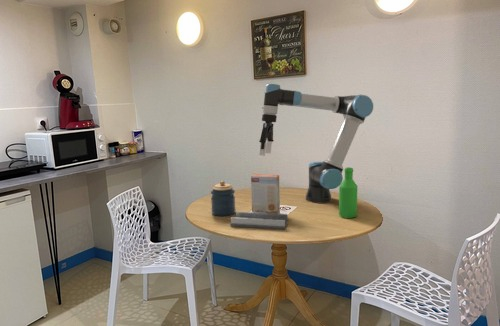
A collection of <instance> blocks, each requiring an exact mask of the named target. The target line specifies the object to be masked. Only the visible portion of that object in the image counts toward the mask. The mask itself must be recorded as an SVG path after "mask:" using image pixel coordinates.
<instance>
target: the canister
mask: <svg viewBox="0 0 500 326" xmlns="http://www.w3.org/2000/svg"><path fill="white" fill-rule="evenodd" d="M211 189H212V190H211V191H210V194H211V197H210V199H211V201H210V202H211V214H212V215H213V216H217V217H227V216H231V215H234V214H236V196H235V192H236V190H235V189H234V186H233V185H232V184H231V183H225V181H224V180H221V181H220V182H219V183H217V184H215V185H214V186H212V187H211Z"/></svg>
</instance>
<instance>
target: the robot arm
mask: <svg viewBox="0 0 500 326" xmlns="http://www.w3.org/2000/svg"><path fill="white" fill-rule="evenodd" d="M264 90H265V91H264V97H263V98H264V99H263V100H264V101H263V106H262V113H263V114H261V115H262V118H261V121H262V122H263V124H262V130H261V135H260V139H259V140H258V142H259V143H260V147H259V154H258V155H259V156H262V157H265V156H266V154H271V153H272V144H273V142H274V124H275V123H277V114H278V109H279V108H278V107H279V106H289V107H296V108H297V107H298V108H307V109H313V110H314V109H316V110H322V111H323V110H324V111H331V112H332V113H334V114H339V115H342V116H343V122H342V124H341V125H340V128H339V132H338V133H337V136H336V138H335V141H334V143H333V144H332V148H331V149H330V153H329V155H328V157H327V159H324V160H323V161H311V162H309V164H308V188H307V191H306V194H305V200H306V201H307V202H311V203H318V204H320V203H322V204H323V203H329V202H331V201H332V194H331V190H335V189H337V188H339V186H340V185H341V183H342V182H343V180H344V179H343V171H344V166H343V164H344V161H345V159H346V156H347V155H348V151H350V148H351V145H352V143H353V141H354V138H355V136H356V134H357V131H358V129H359V127H360V125H362V124H363V123H364V122H365V120H366V118H368V117H369V116H371V114H372V113H373V110H374V102H373V100H372V99H371V97H370V96H368V95H364V94H357V95H356V94H355V95H344V96H342V95H341V96H339V95H336V96H334V97H333V96H332V97H331V96H323V95H316V94H308V93H307V94H306V93H302V92H301V91H297V90H290V89H282V88H281V85H280V84H276V83H267V84H266V85H265V89H264Z"/></svg>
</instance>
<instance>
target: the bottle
mask: <svg viewBox="0 0 500 326" xmlns="http://www.w3.org/2000/svg"><path fill="white" fill-rule="evenodd" d="M343 171H344V179H343V180H342V183H341V184H340V185H339V186H338V190H339V193H338V194H339V195H338V202H339V203H338V215H339V216H340V217H341V218H345V219H353V217H354V218H356V217H357V215H358V185H357V184H356V181H354V178H353V177H354V176H353V175H354V168H353V167H345V168H344V169H343Z"/></svg>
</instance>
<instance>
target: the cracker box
mask: <svg viewBox="0 0 500 326" xmlns="http://www.w3.org/2000/svg"><path fill="white" fill-rule="evenodd" d="M250 180H251V181H250V183H251V184H250V185H251V186H250V187H251V188H250V189H251V190H250V191H251V212H255V213H275V214H281V213H280V212H281V210H280V209H281V207H280V206H281V203H280V202H281V201H280V199H281V198H280V197H281V196H280V194H281V193H280V175H279V174H256V173H254V174H253V175H251V177H250Z"/></svg>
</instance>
